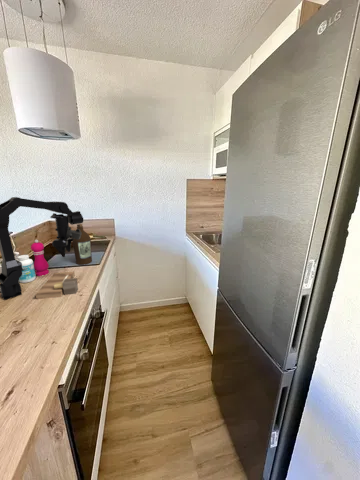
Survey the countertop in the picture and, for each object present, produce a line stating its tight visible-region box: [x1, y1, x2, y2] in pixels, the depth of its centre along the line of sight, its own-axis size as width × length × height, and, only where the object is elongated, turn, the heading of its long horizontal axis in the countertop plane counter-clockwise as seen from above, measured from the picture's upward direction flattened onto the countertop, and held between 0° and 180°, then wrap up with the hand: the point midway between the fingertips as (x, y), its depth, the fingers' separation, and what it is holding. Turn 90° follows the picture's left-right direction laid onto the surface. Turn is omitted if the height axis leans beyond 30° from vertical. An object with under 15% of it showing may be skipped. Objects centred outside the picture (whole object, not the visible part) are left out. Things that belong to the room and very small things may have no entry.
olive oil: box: [71, 223, 93, 266], centre depth 132 cm, size 11×11×25 cm
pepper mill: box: [30, 239, 50, 277], centre depth 115 cm, size 7×7×20 cm
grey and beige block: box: [54, 277, 79, 296], centre depth 97 cm, size 4×9×6 cm, turn 102°
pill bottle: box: [17, 254, 37, 284], centre depth 108 cm, size 8×7×14 cm
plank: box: [35, 270, 76, 300], centre depth 103 cm, size 23×10×3 cm, turn 12°
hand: (66, 254), depth 113 cm, fingers open, 9 cm apart
